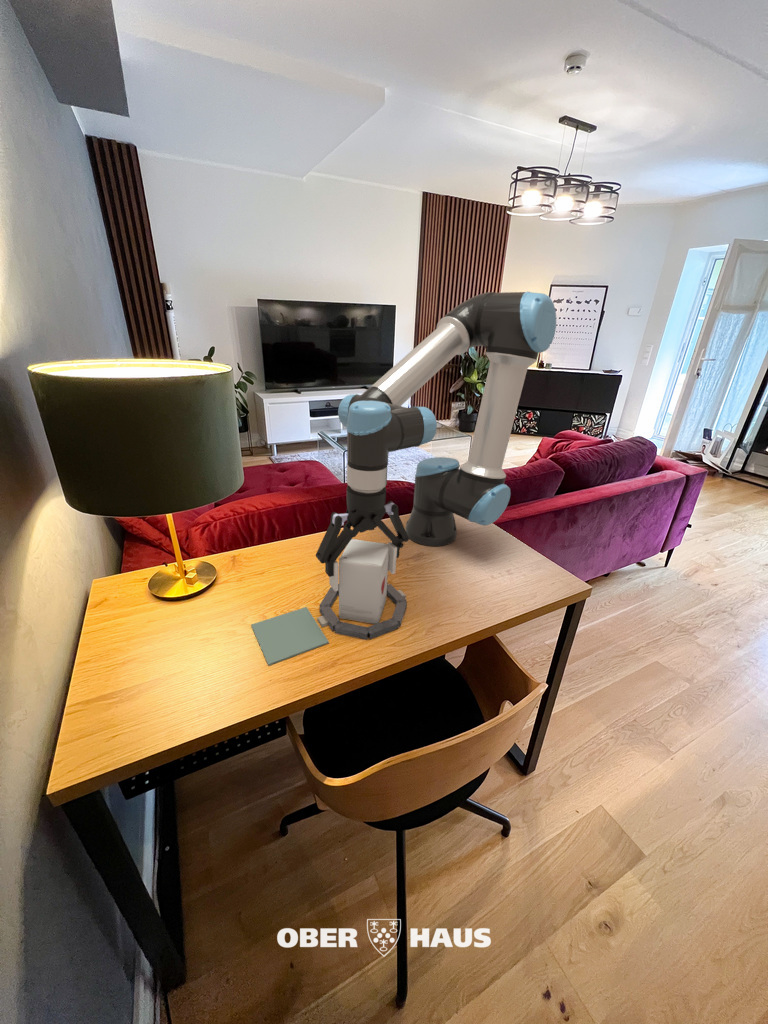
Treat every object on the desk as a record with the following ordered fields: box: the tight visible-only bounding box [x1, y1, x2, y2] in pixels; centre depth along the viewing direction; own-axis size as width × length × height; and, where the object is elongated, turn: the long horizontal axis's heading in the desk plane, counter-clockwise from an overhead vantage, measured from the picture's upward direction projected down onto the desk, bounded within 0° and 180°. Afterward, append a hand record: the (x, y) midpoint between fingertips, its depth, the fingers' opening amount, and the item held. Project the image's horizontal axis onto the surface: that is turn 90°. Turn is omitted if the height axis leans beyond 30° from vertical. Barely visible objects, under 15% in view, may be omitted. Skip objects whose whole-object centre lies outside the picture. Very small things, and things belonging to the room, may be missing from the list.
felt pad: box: [250, 606, 330, 667], centre depth 82 cm, size 12×12×1 cm
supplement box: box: [338, 538, 389, 625], centre depth 87 cm, size 9×9×15 cm
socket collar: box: [316, 582, 408, 641], centre depth 90 cm, size 21×18×2 cm
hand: (363, 578), depth 87 cm, fingers open, 13 cm apart
